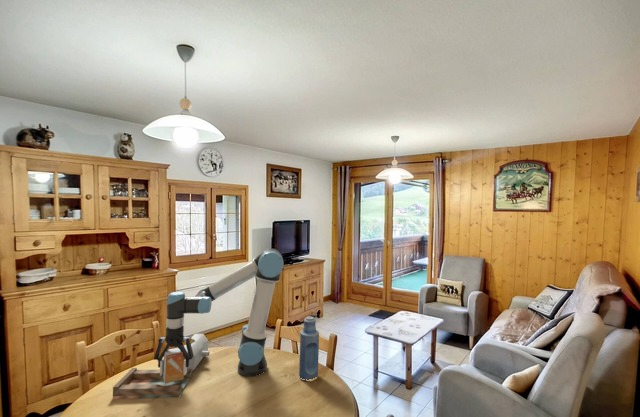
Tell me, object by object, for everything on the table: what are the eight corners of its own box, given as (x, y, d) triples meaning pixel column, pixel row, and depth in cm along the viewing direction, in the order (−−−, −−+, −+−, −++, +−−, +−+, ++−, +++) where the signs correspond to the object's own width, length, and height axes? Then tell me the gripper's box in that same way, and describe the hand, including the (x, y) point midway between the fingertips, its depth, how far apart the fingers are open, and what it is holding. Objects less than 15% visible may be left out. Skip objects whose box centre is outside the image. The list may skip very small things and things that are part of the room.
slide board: (191, 377, 159) (191, 366, 159) (179, 397, 142) (179, 385, 142) (132, 378, 156) (132, 367, 157) (112, 398, 140) (113, 386, 140)
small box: (164, 384, 145) (165, 355, 145) (162, 377, 150) (163, 350, 150) (184, 379, 150) (184, 351, 150) (181, 373, 155) (182, 346, 155)
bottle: (314, 371, 168) (315, 313, 168) (320, 380, 158) (322, 319, 159) (296, 373, 165) (298, 315, 165) (301, 383, 155) (303, 321, 156)
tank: (200, 377, 159) (201, 352, 159) (167, 377, 159) (168, 351, 159) (215, 354, 184) (215, 333, 184) (187, 354, 184) (187, 332, 184)
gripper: (201, 323, 155) (200, 369, 155) (153, 323, 153) (152, 370, 153) (197, 328, 147) (195, 377, 147) (146, 329, 145) (144, 378, 145)
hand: (173, 373), depth 150 cm, fingers closed on small box, 10 cm apart
